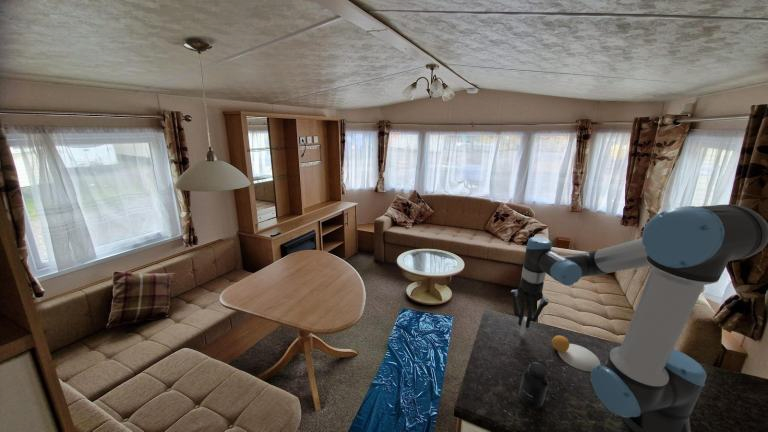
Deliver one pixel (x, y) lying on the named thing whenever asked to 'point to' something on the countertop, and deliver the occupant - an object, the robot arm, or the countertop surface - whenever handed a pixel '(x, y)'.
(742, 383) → the countertop surface
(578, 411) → the countertop surface
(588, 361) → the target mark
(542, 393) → the supplement bottle
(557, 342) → the ball
